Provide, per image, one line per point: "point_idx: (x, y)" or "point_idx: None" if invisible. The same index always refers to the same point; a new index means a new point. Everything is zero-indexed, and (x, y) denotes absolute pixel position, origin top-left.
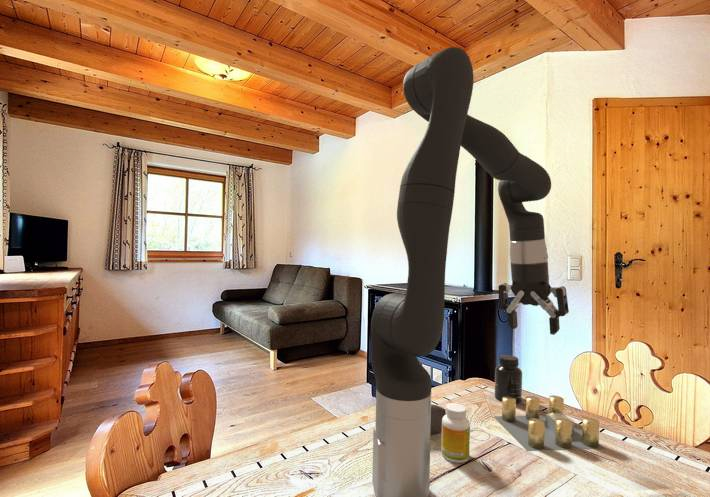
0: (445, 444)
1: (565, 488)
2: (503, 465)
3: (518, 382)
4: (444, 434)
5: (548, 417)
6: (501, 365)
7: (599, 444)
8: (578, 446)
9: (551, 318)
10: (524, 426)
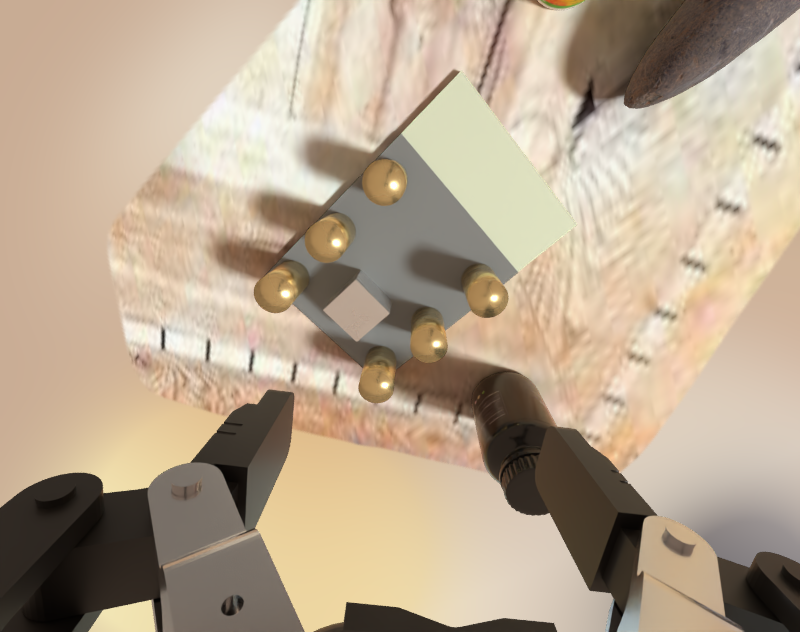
0: None
1: (292, 22)
2: (436, 19)
3: (485, 424)
4: None
5: (382, 303)
6: None
7: None
8: None
9: (224, 463)
10: (435, 267)
